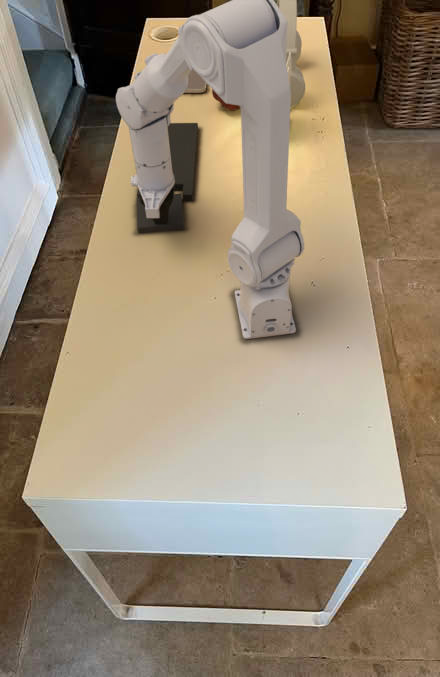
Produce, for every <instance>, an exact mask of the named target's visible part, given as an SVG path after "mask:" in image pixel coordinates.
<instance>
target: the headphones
mask: <svg viewBox="0 0 440 677" xmlns="http://www.w3.org/2000/svg"><path fill="white" fill-rule="evenodd" d="M276 4H277V6H278V8H279V9H280V11H281V12H282V14H283V15H284V17H285V18H286V20H287V22H288V25H287V56H286V64H287V61H288V57H289V54H290V52H291V80H290V90H291V105H290V109H291V108H294V107H296V106H297V105H298V104H299V103H300V102H301V101H302V100H303V99H304V97H305V94H306V81H305V77H304V74H303V72H302V70H301V69H300V67H298V65H297V63H298V61H299V60H300V57H301V54H302V45H303V44H302V37H301V35H300V33H299V31H298V29H297V26H298V25H297V24H298V22H297V21H298V20H297V19H298V1H297V0H276Z"/></svg>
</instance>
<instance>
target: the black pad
mask: <svg viewBox="0 0 440 677" xmlns="http://www.w3.org/2000/svg"><path fill="white" fill-rule="evenodd" d="M198 136H199V123H198V122H171V123H170V125H169V126H168V137H169V145H170V154H171V163H172V172H173V175H174V179H175V188H174V191H182V193H181V197H182V202H193V201H194V190H195V178H196V165H197V164H196V162H197V150H198ZM139 193H140V191H139V189H138V188H137V193H136V198H137V197H139Z"/></svg>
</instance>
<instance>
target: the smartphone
mask: <svg viewBox="0 0 440 677" xmlns="http://www.w3.org/2000/svg"><path fill="white" fill-rule="evenodd" d="M207 85H208V84H207V83H206V82H205V81H204V80H203V79H202V78H201V77H200V76H199V75H198V73H197V72H196V71H195V70H193V71H192V72H191V73H190V74H189V75H188V86H187V89H186V90H185V92H184V93H185V94H188V93H189V94H190V93H192V94H193V93H194V94H195V93H196V94H199V93H200V94H201V93H204V92H206V91H207ZM184 93H183V94H184Z"/></svg>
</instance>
